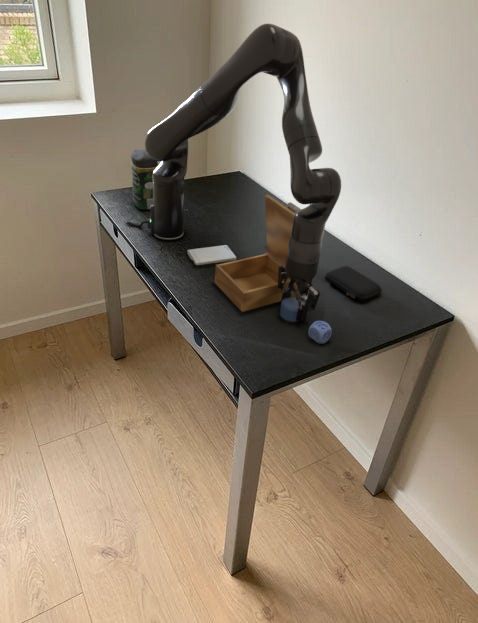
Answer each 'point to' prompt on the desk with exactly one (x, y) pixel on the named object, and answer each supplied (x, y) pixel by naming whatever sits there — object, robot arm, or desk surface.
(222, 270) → the chest
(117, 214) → the desk surface
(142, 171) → the coffee jar
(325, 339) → the decorative dice
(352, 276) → the carrying case
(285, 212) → the cover
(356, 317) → the desk surface
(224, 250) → the hard drive
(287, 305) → the blue lid
